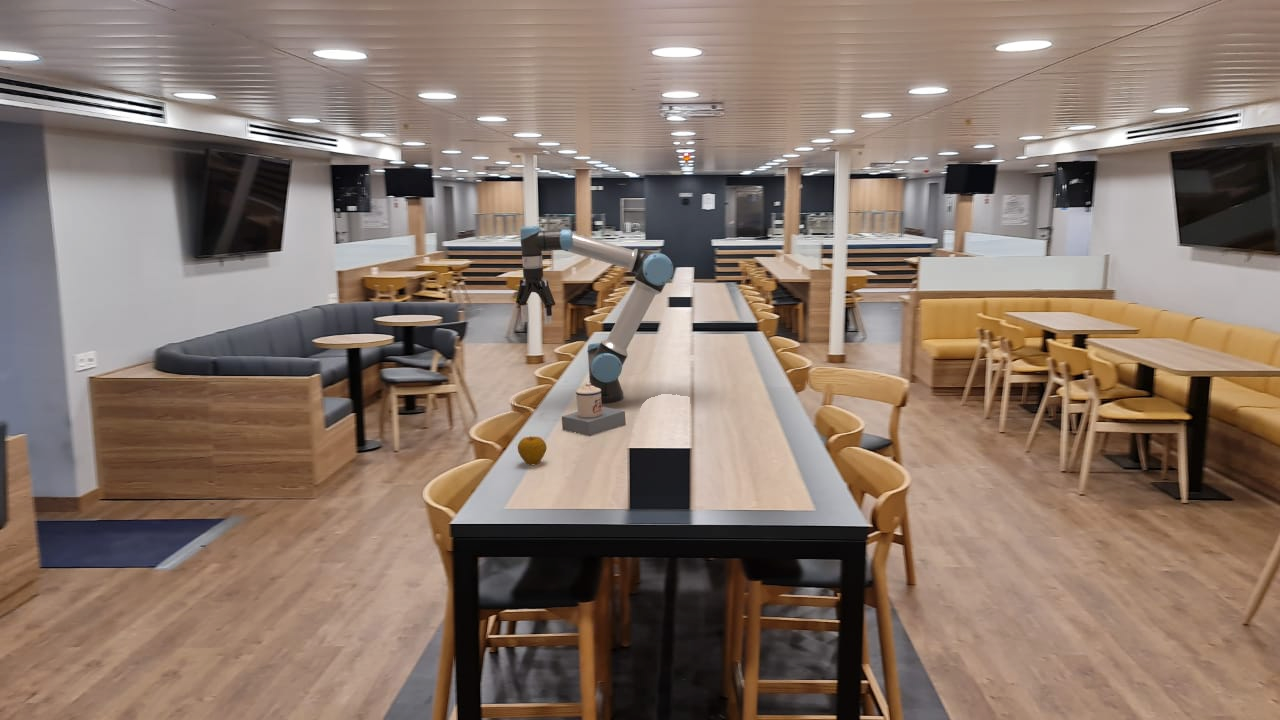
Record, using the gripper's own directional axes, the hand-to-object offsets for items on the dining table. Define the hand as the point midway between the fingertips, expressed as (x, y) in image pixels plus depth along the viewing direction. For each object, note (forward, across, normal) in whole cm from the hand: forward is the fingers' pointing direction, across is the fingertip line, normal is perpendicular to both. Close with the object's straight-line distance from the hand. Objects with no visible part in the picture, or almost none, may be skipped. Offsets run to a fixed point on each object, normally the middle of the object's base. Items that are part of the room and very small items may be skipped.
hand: (536, 323), depth 336 cm
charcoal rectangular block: (+35, +34, -5) cm, 49 cm away
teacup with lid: (+30, +34, -6) cm, 45 cm away
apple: (+35, +49, -46) cm, 76 cm away
